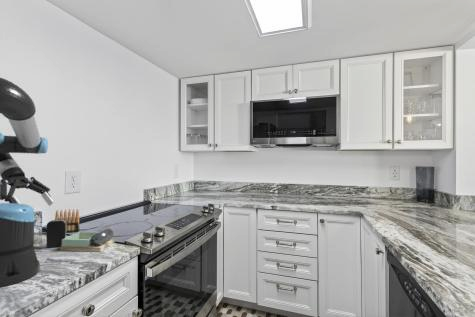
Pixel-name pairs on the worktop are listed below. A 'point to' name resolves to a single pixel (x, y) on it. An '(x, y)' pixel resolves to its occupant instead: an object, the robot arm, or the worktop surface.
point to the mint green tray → (88, 241)
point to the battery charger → (55, 233)
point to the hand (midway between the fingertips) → (37, 206)
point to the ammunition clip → (69, 220)
